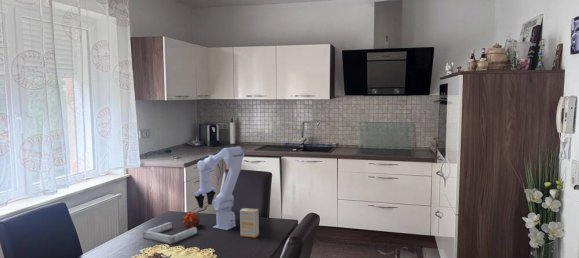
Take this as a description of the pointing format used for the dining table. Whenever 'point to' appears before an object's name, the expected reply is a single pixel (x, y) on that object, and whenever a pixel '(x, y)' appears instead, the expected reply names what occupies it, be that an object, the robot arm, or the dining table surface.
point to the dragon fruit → (191, 219)
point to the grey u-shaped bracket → (156, 235)
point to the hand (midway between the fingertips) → (205, 206)
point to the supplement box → (249, 222)
